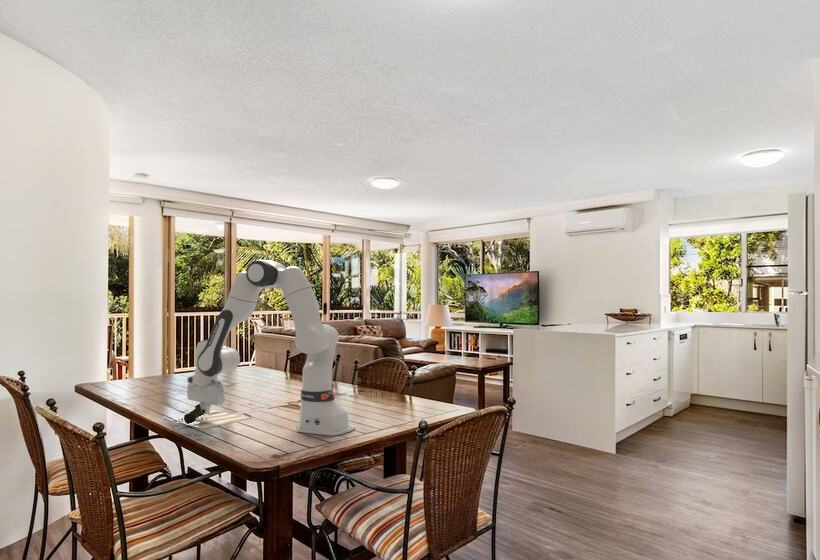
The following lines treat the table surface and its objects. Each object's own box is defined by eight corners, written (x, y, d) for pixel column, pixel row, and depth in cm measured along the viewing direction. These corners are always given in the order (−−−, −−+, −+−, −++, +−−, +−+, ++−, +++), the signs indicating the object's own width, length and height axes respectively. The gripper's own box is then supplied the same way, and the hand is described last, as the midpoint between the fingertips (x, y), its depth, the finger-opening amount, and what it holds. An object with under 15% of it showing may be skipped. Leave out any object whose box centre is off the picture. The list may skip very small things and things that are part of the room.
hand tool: (195, 422, 189) (193, 410, 189) (185, 424, 189) (182, 412, 189) (210, 411, 208) (208, 400, 208) (201, 413, 207) (198, 403, 208)
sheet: (251, 420, 201) (251, 417, 201) (203, 431, 182) (203, 429, 182) (209, 411, 216) (209, 409, 216) (160, 421, 197) (160, 418, 197)
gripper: (229, 380, 197) (228, 415, 197) (198, 376, 208) (197, 409, 208) (215, 382, 192) (214, 418, 191) (184, 377, 203) (183, 411, 202)
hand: (205, 413), depth 200 cm, fingers closed
